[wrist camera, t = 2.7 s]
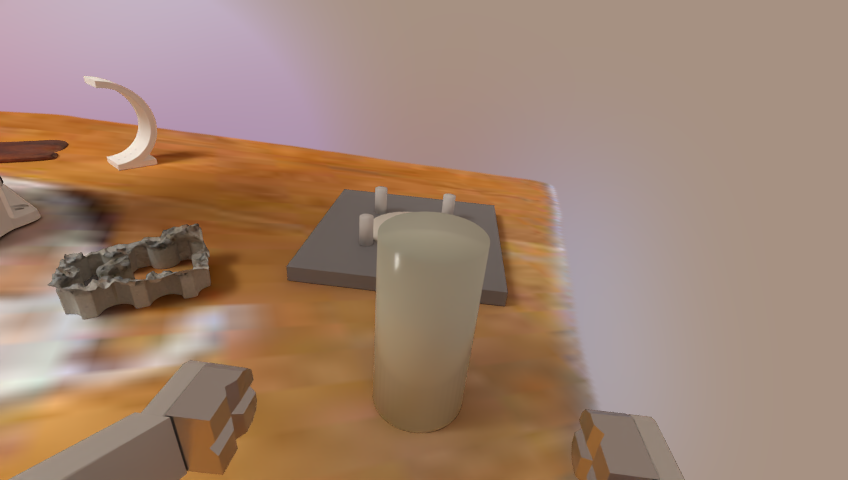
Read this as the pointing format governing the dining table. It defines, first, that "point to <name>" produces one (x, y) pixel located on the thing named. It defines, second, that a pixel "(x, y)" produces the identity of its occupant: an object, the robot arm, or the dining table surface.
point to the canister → (425, 316)
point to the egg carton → (123, 262)
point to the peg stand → (357, 240)
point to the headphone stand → (146, 133)
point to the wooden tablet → (30, 150)
